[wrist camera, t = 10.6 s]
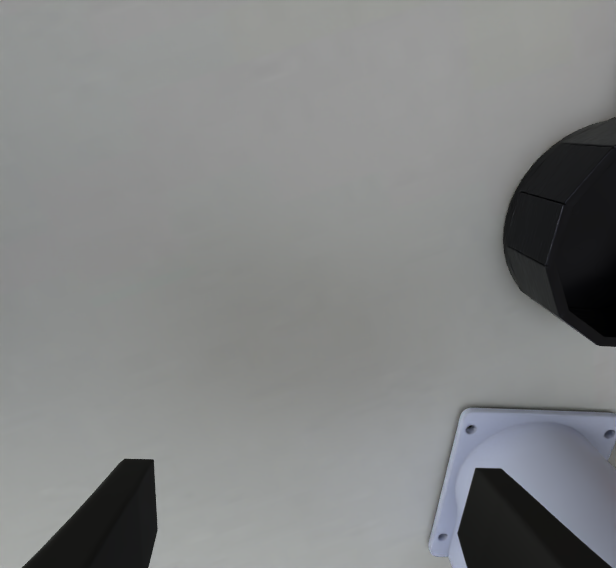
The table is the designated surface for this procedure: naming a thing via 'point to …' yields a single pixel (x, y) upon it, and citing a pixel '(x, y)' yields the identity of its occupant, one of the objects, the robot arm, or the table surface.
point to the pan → (569, 232)
